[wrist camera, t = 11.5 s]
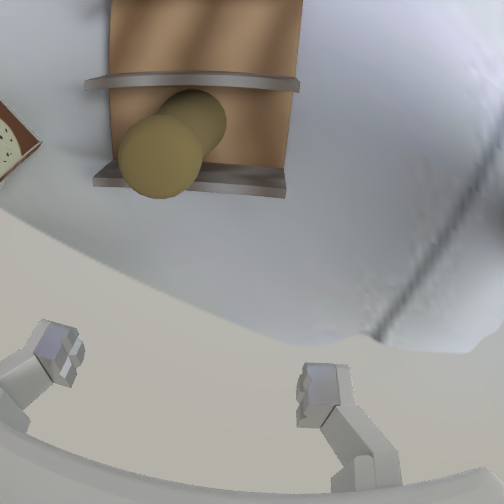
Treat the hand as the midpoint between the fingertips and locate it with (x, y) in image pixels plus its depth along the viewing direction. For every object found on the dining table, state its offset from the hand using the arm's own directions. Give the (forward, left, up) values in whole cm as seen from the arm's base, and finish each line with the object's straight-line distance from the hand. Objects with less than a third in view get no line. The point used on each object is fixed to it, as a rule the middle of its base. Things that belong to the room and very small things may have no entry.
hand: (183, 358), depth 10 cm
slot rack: (+4, -7, -22) cm, 24 cm away
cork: (+4, -3, -21) cm, 22 cm away
